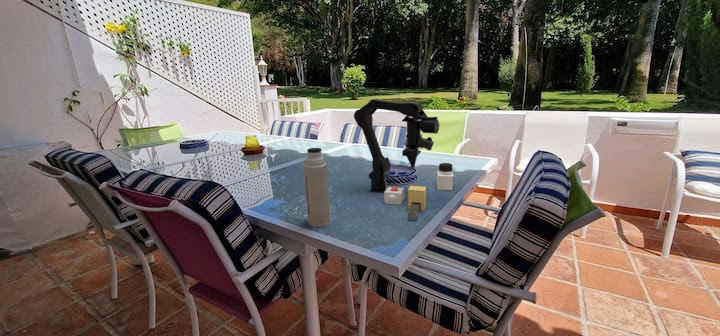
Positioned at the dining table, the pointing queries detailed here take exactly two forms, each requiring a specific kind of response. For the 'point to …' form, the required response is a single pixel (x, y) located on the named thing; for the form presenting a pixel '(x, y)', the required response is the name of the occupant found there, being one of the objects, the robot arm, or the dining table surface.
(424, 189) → the block
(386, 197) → the white button housing
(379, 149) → the robot arm
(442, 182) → the medicine bottle
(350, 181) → the dining table surface
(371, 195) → the dining table surface
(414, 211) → the rail
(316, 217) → the thermos bottle
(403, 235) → the dining table surface
